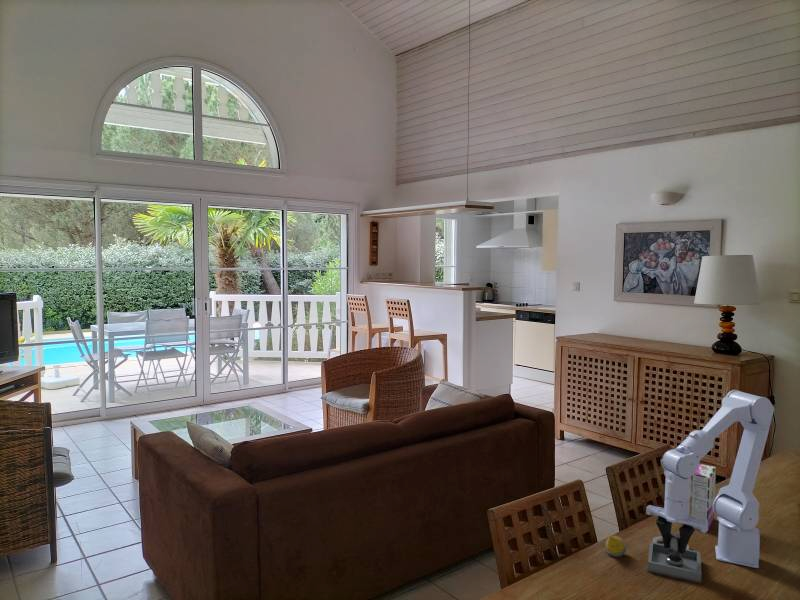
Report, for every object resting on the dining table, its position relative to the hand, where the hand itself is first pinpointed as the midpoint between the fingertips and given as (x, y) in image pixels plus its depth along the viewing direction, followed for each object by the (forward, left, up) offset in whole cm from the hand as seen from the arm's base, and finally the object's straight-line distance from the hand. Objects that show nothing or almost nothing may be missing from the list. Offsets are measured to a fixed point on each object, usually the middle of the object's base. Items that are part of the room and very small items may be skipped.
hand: (674, 549), depth 147 cm
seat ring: (+1, -10, -4) cm, 11 cm away
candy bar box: (-7, -32, -5) cm, 33 cm away
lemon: (+14, +2, -5) cm, 15 cm away
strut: (0, 0, -4) cm, 4 cm away
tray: (0, 0, -4) cm, 4 cm away
